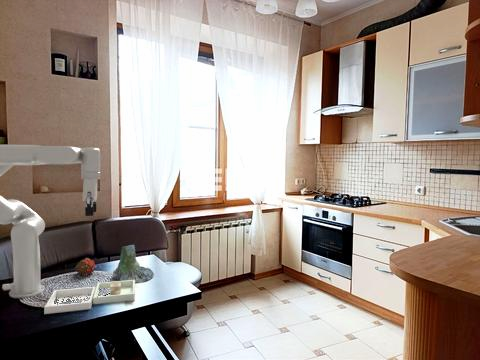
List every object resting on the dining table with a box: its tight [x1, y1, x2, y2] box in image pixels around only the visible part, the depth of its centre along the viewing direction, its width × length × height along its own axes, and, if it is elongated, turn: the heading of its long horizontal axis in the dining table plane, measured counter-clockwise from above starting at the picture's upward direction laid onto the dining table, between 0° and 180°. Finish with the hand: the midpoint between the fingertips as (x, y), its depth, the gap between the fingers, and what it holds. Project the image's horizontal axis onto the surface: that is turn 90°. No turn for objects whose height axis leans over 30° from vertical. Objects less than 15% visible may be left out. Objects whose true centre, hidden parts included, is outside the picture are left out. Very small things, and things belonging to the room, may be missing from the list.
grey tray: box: [43, 286, 97, 315], centre depth 127 cm, size 16×16×3 cm
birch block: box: [110, 283, 121, 295], centre depth 135 cm, size 4×4×4 cm
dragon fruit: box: [74, 257, 96, 276], centre depth 159 cm, size 8×8×12 cm
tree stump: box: [112, 244, 155, 284], centre depth 157 cm, size 18×20×18 cm
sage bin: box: [92, 280, 136, 305], centre depth 135 cm, size 16×16×3 cm
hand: (91, 213), depth 141 cm, fingers open, 9 cm apart
